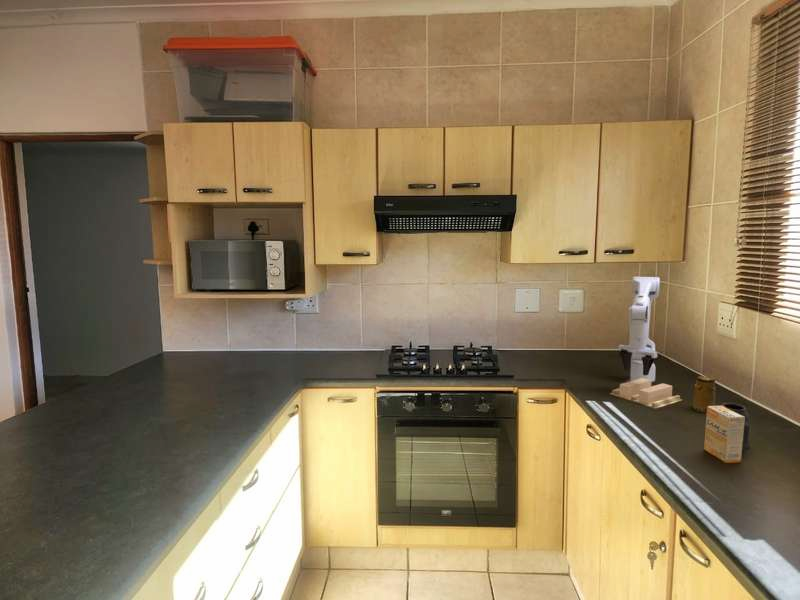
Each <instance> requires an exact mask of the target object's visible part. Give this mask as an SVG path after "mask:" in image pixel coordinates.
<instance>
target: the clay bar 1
mask: <svg viewBox="0 0 800 600" xmlns="http://www.w3.org/2000/svg"><path fill="white" fill-rule="evenodd" d="M648 387H652V382H651V380H648V379H644V378H641V379H637V380H634V381H630V380H629V381H625V382H623V383H620V384H619V388H620V394H619V396H621V397H625V398H628V399H629V398H631V396H634V395H638V394H639V390H641V389H644V388H648ZM621 397H620V398H621ZM628 399H627V400H628Z"/></svg>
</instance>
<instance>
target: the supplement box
mask: <svg viewBox="0 0 800 600" xmlns="http://www.w3.org/2000/svg"><path fill="white" fill-rule="evenodd" d="M744 421H745V417H744V416H742V415H740V414H738V413H736V412H734V411H732V410H730V409H727V408H725V407H724V406H722V405H715V406H708V407H707V413H706V419H705V430H704V431H705V432H704V434H705V435H704V445H703V446H704V447H703V449H704V451H705V450H706V452H707V453H709V454H711V455H712V456H714V457H716V458H717V459H719V460H721V461H722V462H723V463H725V464H734V463H741V462H742V452H743V450H742V443H743V432H744Z"/></svg>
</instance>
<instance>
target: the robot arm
mask: <svg viewBox="0 0 800 600" xmlns="http://www.w3.org/2000/svg"><path fill="white" fill-rule="evenodd" d="M631 280H632V281H631V282H632V283H631V290H632V296H633V300H632V304H631V306H629V309H628V319H629V321H628V322H629V324H628V325H629V338H628V339H629V340H628V341H629V342H628V345H626V344H619V345H618V351H619V352H618V355H619V357H620V358H621V361H622V364H623V368H624V371H626V372H627V371H630V375H629V376H630V378H629V382H630V381H634V380H637V379H641V378H644V379H648V380H651V383H653V382H655V381H656V365H655V363H654V362H655V361H656V359H657V358H658V352H657V351H656V344H655V342H654V341H652V340H651V339H650V338H649V335H650V334H649V333H650V322H651V309H652V308H651V307H652V304H653V300H656V299H658V296H659V295H660V294H659V293H660V285H661V284H660V283H661V279H660V277H659V276H657V277H656V276H636V275H635V276H633V277H632V279H631ZM625 382H628V379H627V380H625Z"/></svg>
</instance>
